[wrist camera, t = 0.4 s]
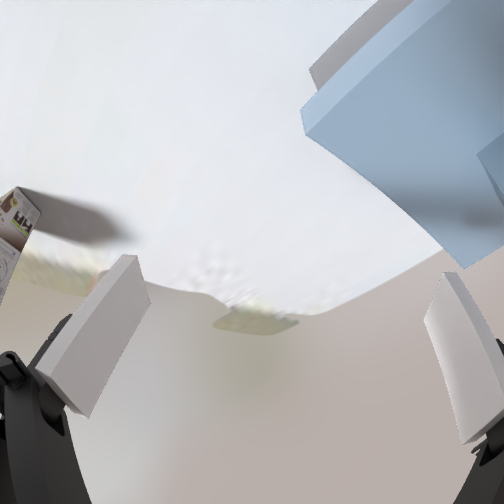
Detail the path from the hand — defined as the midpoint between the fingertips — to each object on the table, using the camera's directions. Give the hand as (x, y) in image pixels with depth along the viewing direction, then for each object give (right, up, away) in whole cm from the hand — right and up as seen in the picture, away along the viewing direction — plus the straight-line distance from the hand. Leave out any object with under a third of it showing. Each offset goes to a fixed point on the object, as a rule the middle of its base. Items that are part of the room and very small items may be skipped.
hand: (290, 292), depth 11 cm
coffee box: (-37, +9, +20) cm, 43 cm away
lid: (+15, +10, +2) cm, 18 cm away
